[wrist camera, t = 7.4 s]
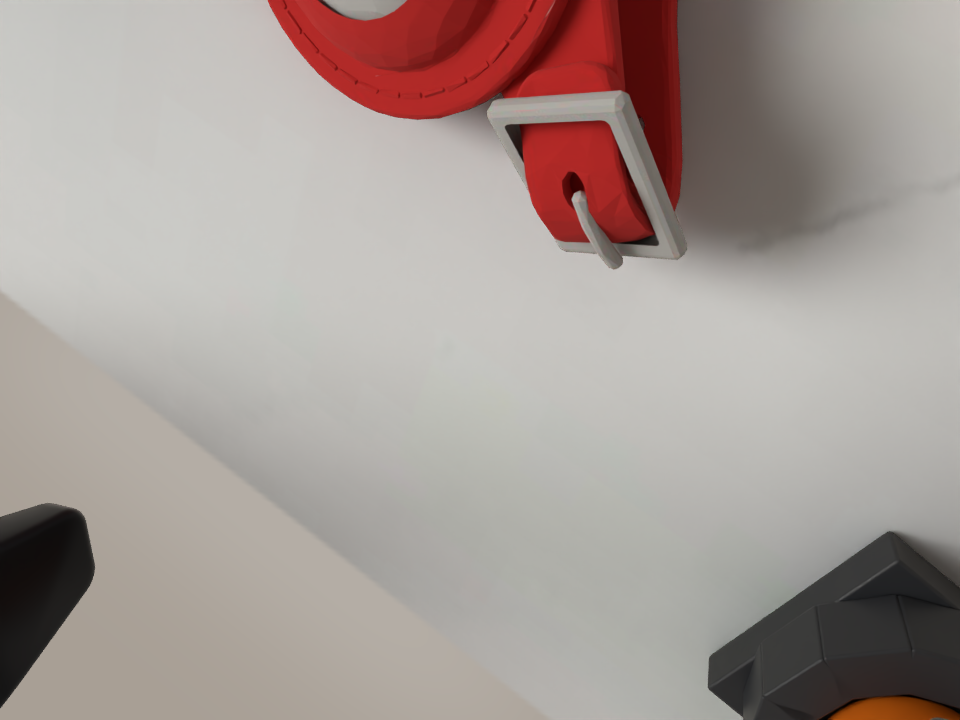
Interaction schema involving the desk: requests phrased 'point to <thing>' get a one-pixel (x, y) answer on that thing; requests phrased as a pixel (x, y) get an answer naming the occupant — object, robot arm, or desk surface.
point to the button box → (849, 641)
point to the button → (894, 709)
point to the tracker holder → (530, 98)
